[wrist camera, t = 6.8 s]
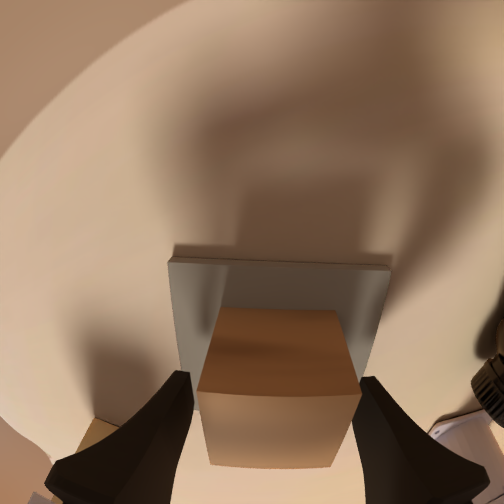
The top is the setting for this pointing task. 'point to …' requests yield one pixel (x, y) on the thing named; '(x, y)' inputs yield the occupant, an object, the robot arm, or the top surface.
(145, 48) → the top surface
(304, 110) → the top surface
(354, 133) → the top surface
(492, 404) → the supplement bottle
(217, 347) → the walnut cube
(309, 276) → the slate mat
